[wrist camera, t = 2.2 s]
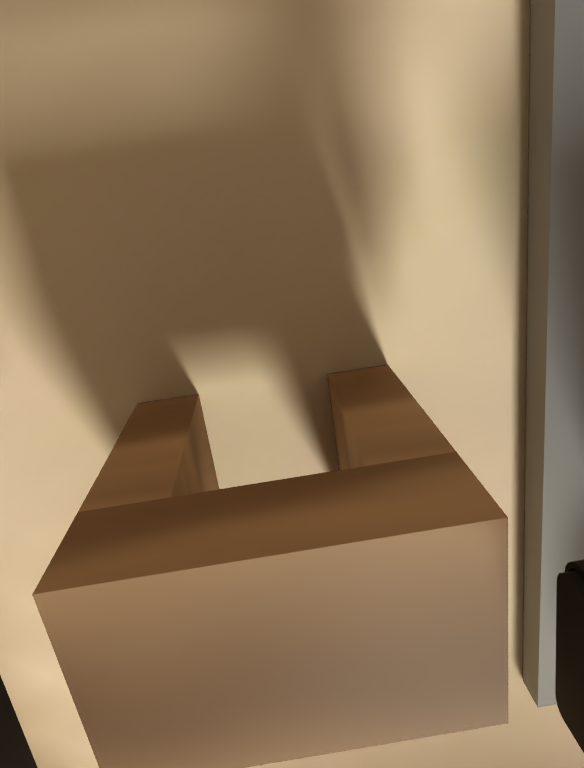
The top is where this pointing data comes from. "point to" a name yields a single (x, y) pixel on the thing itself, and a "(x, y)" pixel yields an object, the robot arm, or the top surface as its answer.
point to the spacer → (281, 593)
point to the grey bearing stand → (553, 329)
